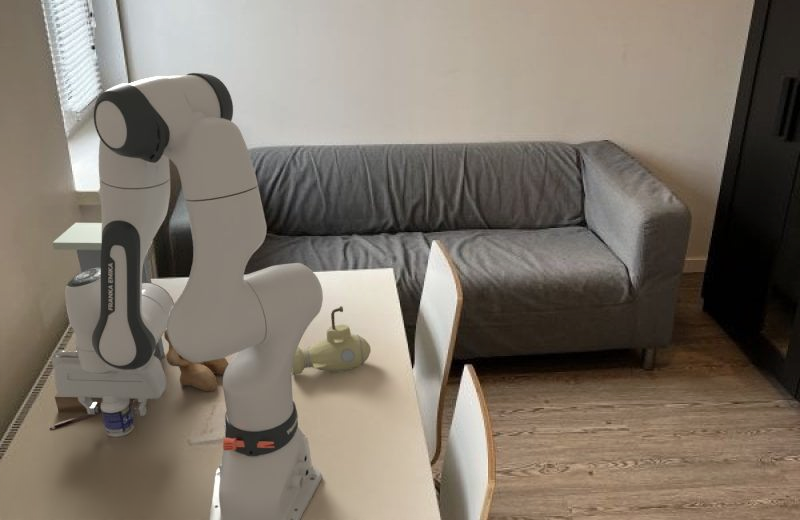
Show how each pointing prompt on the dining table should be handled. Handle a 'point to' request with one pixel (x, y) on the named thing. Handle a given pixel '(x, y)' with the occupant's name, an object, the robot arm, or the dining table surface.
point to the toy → (333, 351)
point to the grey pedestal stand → (94, 254)
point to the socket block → (76, 403)
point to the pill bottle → (117, 416)
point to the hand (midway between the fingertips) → (117, 413)
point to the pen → (72, 420)
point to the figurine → (196, 369)
